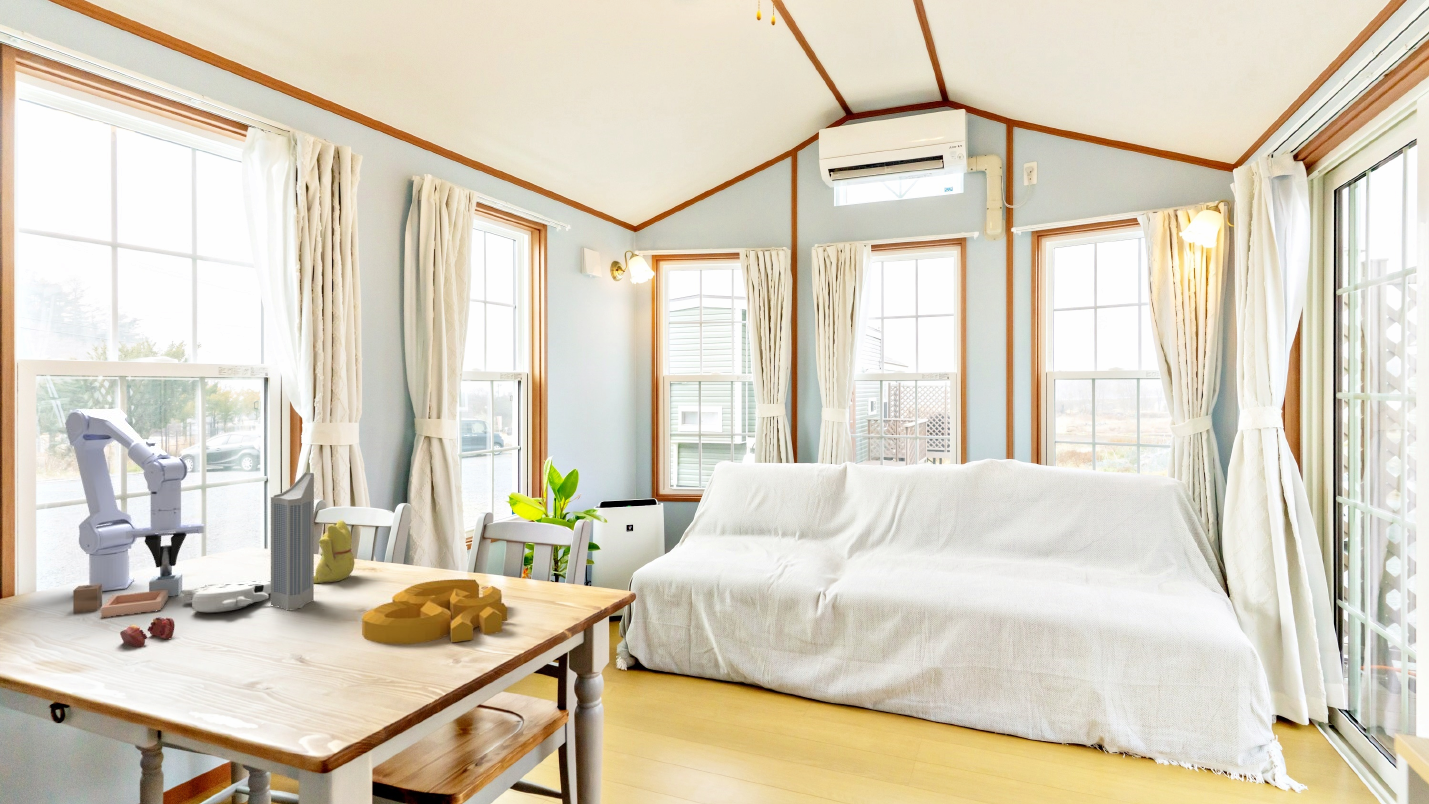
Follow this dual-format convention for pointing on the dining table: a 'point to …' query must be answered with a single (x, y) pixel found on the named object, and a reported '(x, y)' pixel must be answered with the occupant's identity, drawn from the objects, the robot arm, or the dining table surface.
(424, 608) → the decorative symbol
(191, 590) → the toy
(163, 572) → the pin
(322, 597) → the dining table surface
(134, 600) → the tray
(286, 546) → the building model
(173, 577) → the slate block
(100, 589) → the walnut block
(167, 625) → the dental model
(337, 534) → the figurine
